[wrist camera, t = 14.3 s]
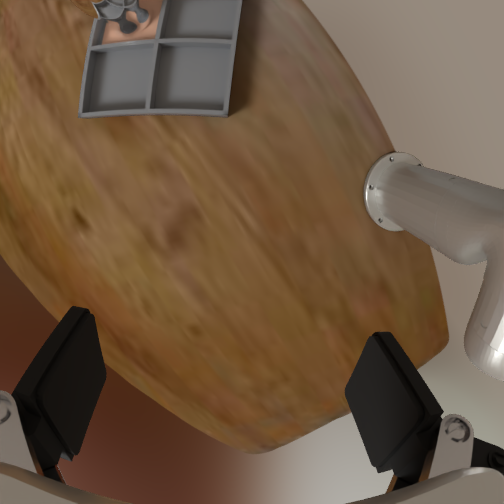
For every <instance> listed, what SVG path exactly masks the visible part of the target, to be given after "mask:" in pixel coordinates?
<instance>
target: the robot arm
mask: <svg viewBox="0 0 504 504" xmlns="http://www.w3.org/2000/svg"><path fill="white" fill-rule="evenodd" d="M369 186H370V187H369ZM364 202H365V206H366V209H367V211H368V213H369V215H370V217H371V218H372V219H373V221H374V222H375V223H377V224H378V225H379V226H381V227H382V228H384V229H387V230H389V231H402V230H406V231H408V232H409V233H411V234H413V235H414V236H416V237H417V238H419V239H421V240H422V241H424V242H425V243H427V244H428V245H430V246H431V247H433V248H434V249H436V250H437V251H439V252H440V253H442V254H444V255H445V256H447V257H448V258H449V259H451V260H453V261H455V262H457V263H459V264H465V265H472V264H477V263H480V262H483V261H486V260H487V266H486V270H485V273H484V278H483V279H484V280H483V283H482V286H481V289H480V292H479V295H478V298H477V301H476V304H475V306H474V309H473V312H472V314H471V317H470V319H469V322H468V325H467V328H466V331H465V336H464V348H465V352H466V354H467V356H468V358H469V360H470V361H471V362H472V363H473V364H474V365H475V366H476V367H477V368H478V369H479V370H481V371H482V372H484V373H485V374H487V375H489V376H491V377H493V378H495V379H498V380H500V381H503V382H504V190H503V189H499V188H496V187H492V186H489V185H485V184H482V183H479V182H475V181H472V180H469V179H466V178H462V177H459V176H455V175H452V174H448V173H444V172H440V171H437V170H433V169H429V168H425V167H424V166H423V164H422V163H421V162H420V161H419V160H418V159H417V158H416V157H414V156H413V155H410V154H407V153H403V152H392V153H388V154H386V155H384V156H382V157H381V158H379V159H378V160H377V161H376V162H375V163H374V164H373V166H372V167H371V169H370V171H369V172H368V175H367V177H366V180H365V185H364ZM105 380H106V368H105V364H104V360H103V356H102V352H101V347H100V343H99V338H98V333H97V328H96V323H95V317H94V315H93V314H90V311H89V309H87V308H81V307H76V306H72V307H71V308H70V309H69V311H68V312H67V313H66V314H65V316H64V317H63V318H62V320H61V321H60V322H59V324H58V325H57V327H56V328H55V329H54V331H53V332H52V334H51V335H50V336H49V338H48V339H47V340H46V342H45V343H44V345H43V346H42V348H41V349H40V350H39V352H38V353H37V355H36V356H35V358H34V359H33V361H32V363H31V364H30V365H29V367H28V369H27V370H26V372H25V373H24V375H23V376H22V378H21V380H20V381H19V383H18V384H17V386H16V388H15V390H14V391H13V393H12V395H10V394H9V393H7V392H5V391H1V390H0V504H132V503H127V502H123V501H119V500H115V499H111V498H108V497H104V496H100V495H97V494H93V493H90V492H86V491H83V490H80V489H77V488H74V487H72V486H69V485H66V482H65V480H64V478H63V476H62V474H61V472H60V470H59V468H58V465H57V464H58V461H59V458H60V457H61V458H63V459H66V460H69V461H72V459H73V456H74V455H78V453H79V451H80V448H81V446H82V443H83V439H84V437H85V434H86V431H87V428H88V425H89V422H90V420H91V417H92V414H93V411H94V409H95V406H96V403H97V401H98V398H99V396H100V393H101V390H102V388H103V385H104V383H105ZM345 396H346V399H347V402H348V404H349V407H350V409H351V412H352V414H353V417H354V419H355V422H356V425H357V427H358V430H359V432H360V435H361V438H362V440H363V443H364V446H365V448H366V451H367V454H368V456H369V459H370V462H371V464H372V466H374V467H376V469H377V472H378V473H381V472H385V471H388V470H391V469H393V472H394V475H393V477H392V480H391V482H390V485H389V487H388V489H387V492H386V493H385V494H382V495H379V496H375V497H371V498H368V499H364V500H360V501H355V502H351V503H347V504H504V450H503V449H502V448H500V447H498V446H495V445H493V444H490V443H487V442H485V441H482V440H480V439H477V438H474V432H473V428H472V425H471V424H470V422H469V421H468V420H467V419H465V418H464V417H462V416H460V415H457V414H449V415H447V416H445V417H444V418H443V419H442V418H441V415H442V413H443V412H444V411H443V410H442V408H441V406H440V405H439V403H438V402H437V400H436V399H435V397H434V395H433V394H432V392H431V391H430V389H429V388H428V386H427V384H426V383H425V381H424V380H423V379H422V377H421V375H420V374H419V372H418V371H417V369H416V368H415V366H414V365H413V363H412V362H411V361H410V359H409V358H408V356H407V355H406V353H405V352H404V350H403V349H402V347H401V346H400V345H399V343H398V342H397V340H396V339H395V338H394V336H393V335H392V334H391V333H390V332H375V333H374V334H373V335H372V336H370V337H369V338H368V340H367V342H366V345H365V347H364V349H363V351H362V354H361V356H360V358H359V360H358V362H357V365H356V367H355V369H354V371H353V373H352V375H351V377H350V379H349V381H348V383H347V385H346V388H345Z"/></svg>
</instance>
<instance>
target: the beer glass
mask: <svg viewBox="0 0 504 504" xmlns="http://www.w3.org/2000/svg"><path fill="white" fill-rule="evenodd" d="M71 2H72V3H73V4H74V5H75V6H76V7H78V8H79V9H80V10H81V11H83V12H84V13H86V14H87V15H89V16H91V17H93V18H96V19H98V20H101V21H104V22H106V23H108V24H109V25H110V26H111V29H112V30H113V32H114V33H115V34H117V35H119V36H123V37H128V36H133V35H135V34H137V33H139V32H141V31H142V30H144V29H145V28H146V27H147V26H148V24H149V23H150V21H151V19H152V9H151V7H150V6H149V5H148V4H147V3H145V2H144V1H143V0H71Z"/></svg>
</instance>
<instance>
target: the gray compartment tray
mask: <svg viewBox="0 0 504 504" xmlns="http://www.w3.org/2000/svg"><path fill="white" fill-rule="evenodd" d="M143 1H144V2H145V3H147V4H148V5H149V6H150V7H151V9H152V19H151V21H150V23H149V24H148V26H147V27H146V28H145V29H144V30H142V31H141V32H139V33H137V34H135V35H133V36H128V37H123V36H119V35H117V34H115V33H114V32H113V30H112V29H111V26H110V25H109V24H108V23H106V22H104V21H101V20H98V19H96V18H94V22H93V26H92V30H91V34H90V39H89V44H88V48H87V54H86V59H85V65H84V71H83V78H82V85H81V93H80V102H79V112H78V118H99V117H113V116H135V115H189V116H211V117H228V108H229V99H230V90H231V81H232V73H233V65H234V57H235V49H236V42H237V34H238V27H239V20H240V13H241V7H242V0H143Z"/></svg>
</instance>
